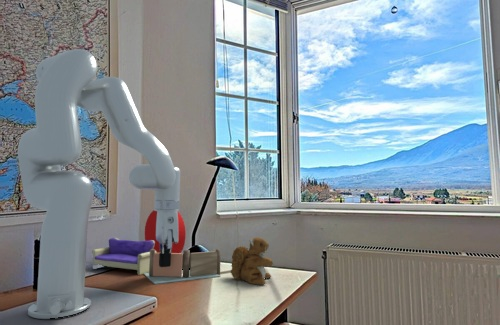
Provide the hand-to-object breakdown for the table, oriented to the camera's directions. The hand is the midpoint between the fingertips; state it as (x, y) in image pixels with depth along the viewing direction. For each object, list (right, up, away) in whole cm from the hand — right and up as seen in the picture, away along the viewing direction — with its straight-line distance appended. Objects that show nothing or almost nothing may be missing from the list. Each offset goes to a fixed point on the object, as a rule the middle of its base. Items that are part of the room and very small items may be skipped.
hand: (164, 266), depth 108 cm
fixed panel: (+11, -5, +5) cm, 13 cm away
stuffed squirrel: (+26, -5, +2) cm, 27 cm away
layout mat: (+4, -5, +6) cm, 8 cm away
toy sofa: (-17, -5, +12) cm, 22 cm away
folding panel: (0, -4, +3) cm, 5 cm away
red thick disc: (-8, -7, +31) cm, 33 cm away
